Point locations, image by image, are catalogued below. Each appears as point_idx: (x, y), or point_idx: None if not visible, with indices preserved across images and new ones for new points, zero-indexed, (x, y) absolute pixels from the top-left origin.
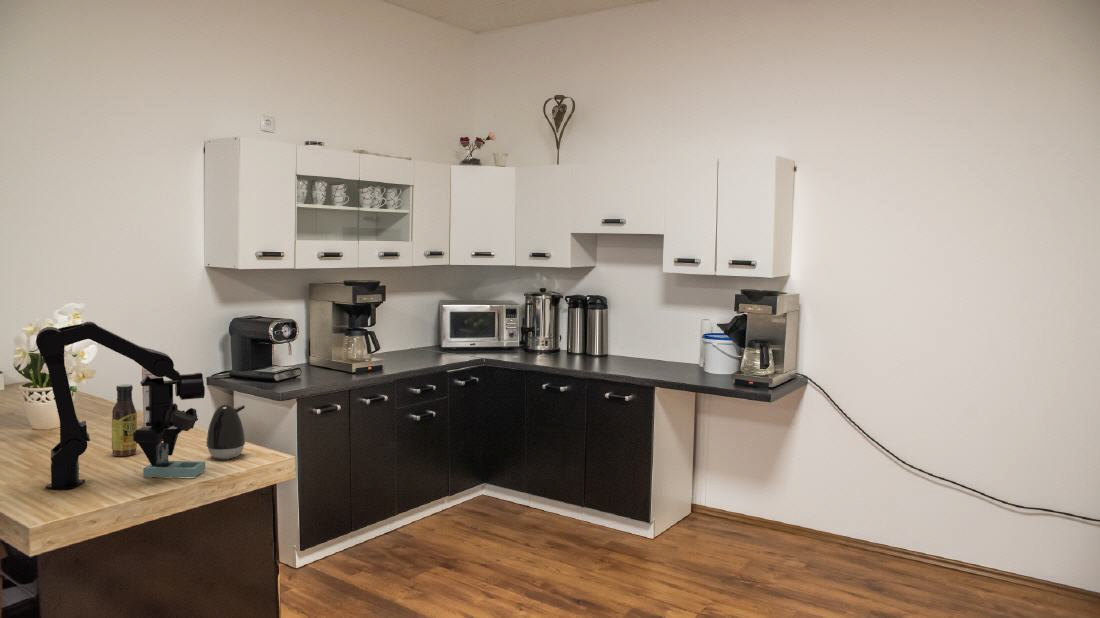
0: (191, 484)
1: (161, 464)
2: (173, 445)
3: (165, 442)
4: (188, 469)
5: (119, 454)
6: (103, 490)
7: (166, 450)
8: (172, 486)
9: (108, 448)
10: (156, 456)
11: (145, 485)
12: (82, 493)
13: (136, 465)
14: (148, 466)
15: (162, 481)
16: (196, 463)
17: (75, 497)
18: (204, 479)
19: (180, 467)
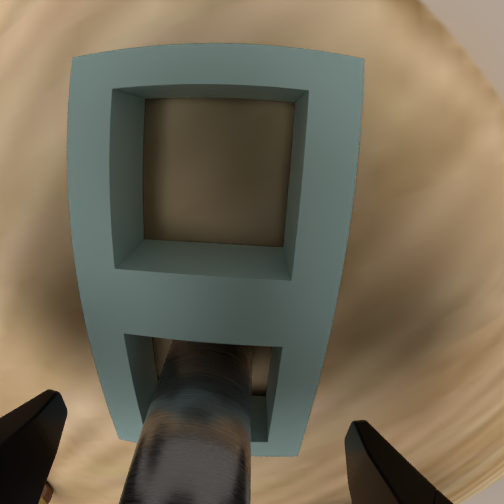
0: (466, 76)
1: (250, 401)
2: (11, 439)
3: (30, 497)
4: (357, 119)
5: (48, 491)
6: (446, 441)
7: (202, 483)
8: (493, 188)
9: None
10: (403, 470)
11: (442, 345)
12: (449, 464)
13: (99, 459)
14: (260, 447)
15: (390, 289)
16: (113, 122)
17: (478, 455)
18: (357, 4)
19: (303, 221)
